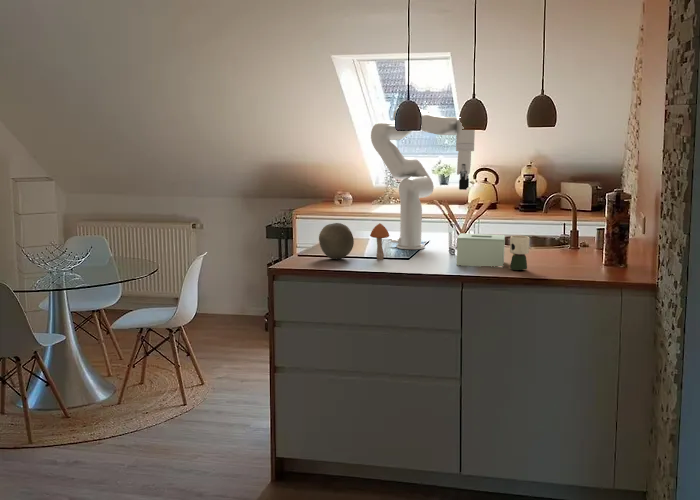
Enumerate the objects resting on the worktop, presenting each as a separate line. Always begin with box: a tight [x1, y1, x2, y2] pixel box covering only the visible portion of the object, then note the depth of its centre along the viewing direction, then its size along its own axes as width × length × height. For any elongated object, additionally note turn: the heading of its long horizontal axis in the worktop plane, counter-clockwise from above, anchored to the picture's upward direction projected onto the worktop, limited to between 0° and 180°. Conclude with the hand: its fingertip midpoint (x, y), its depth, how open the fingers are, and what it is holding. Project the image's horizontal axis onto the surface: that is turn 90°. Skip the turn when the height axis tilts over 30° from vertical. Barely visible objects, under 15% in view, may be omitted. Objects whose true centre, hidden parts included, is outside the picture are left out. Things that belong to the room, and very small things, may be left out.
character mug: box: [509, 235, 530, 271], centre depth 307 cm, size 11×7×13 cm, turn 178°
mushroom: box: [369, 223, 390, 261], centre depth 328 cm, size 8×8×15 cm
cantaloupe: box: [318, 222, 355, 260], centre depth 327 cm, size 14×14×15 cm
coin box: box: [456, 232, 506, 268], centre depth 321 cm, size 18×13×11 cm
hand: (463, 188), depth 338 cm, fingers open, 9 cm apart
